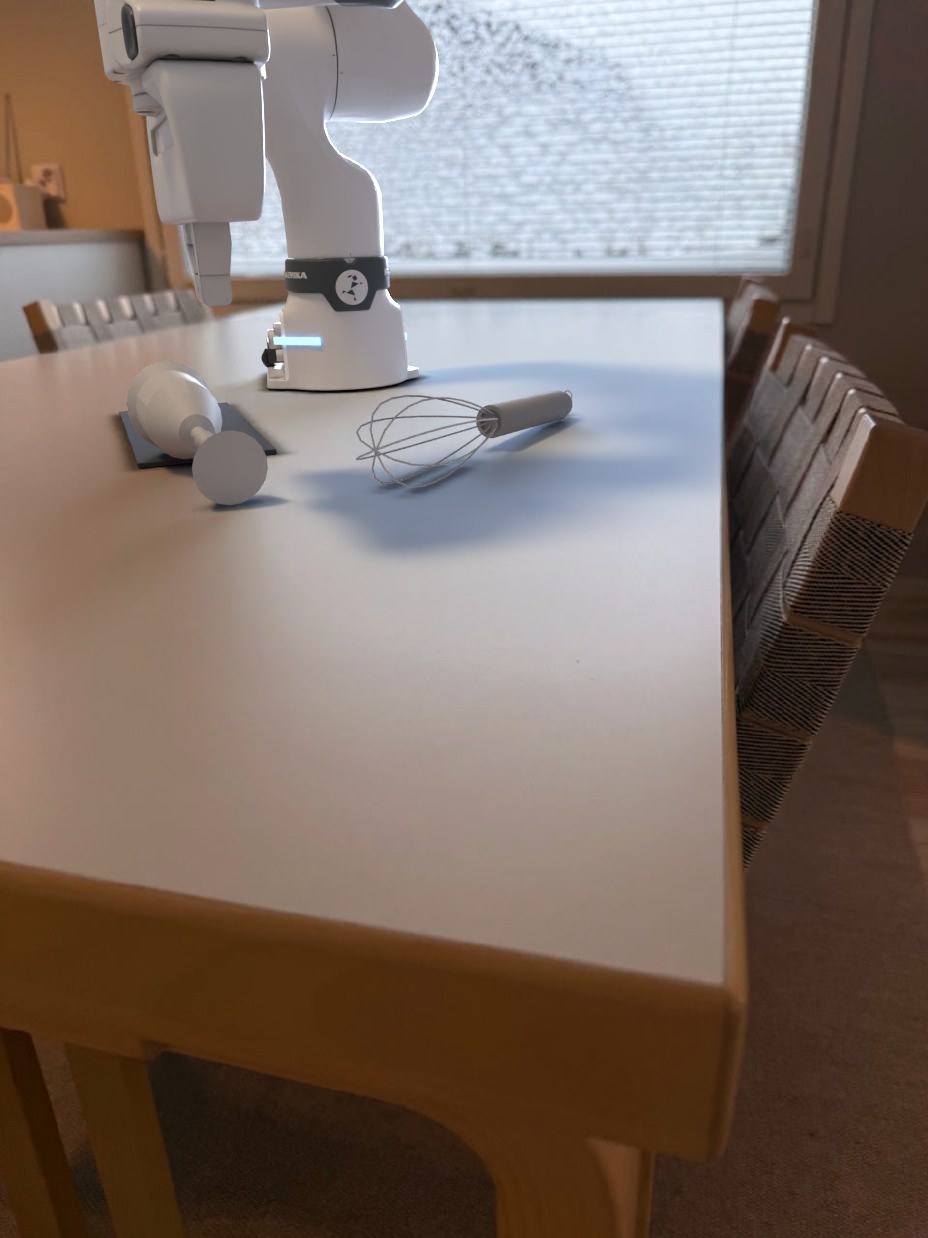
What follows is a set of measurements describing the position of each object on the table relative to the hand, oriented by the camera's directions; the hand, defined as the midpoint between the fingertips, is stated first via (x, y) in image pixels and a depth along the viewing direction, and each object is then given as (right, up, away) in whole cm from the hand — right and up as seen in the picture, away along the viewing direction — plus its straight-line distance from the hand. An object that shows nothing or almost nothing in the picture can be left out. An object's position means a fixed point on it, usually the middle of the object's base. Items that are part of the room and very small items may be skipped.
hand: (215, 304), depth 57 cm
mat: (-10, -2, +29) cm, 30 cm away
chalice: (0, -10, +4) cm, 10 cm away
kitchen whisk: (+17, -6, +19) cm, 26 cm away
